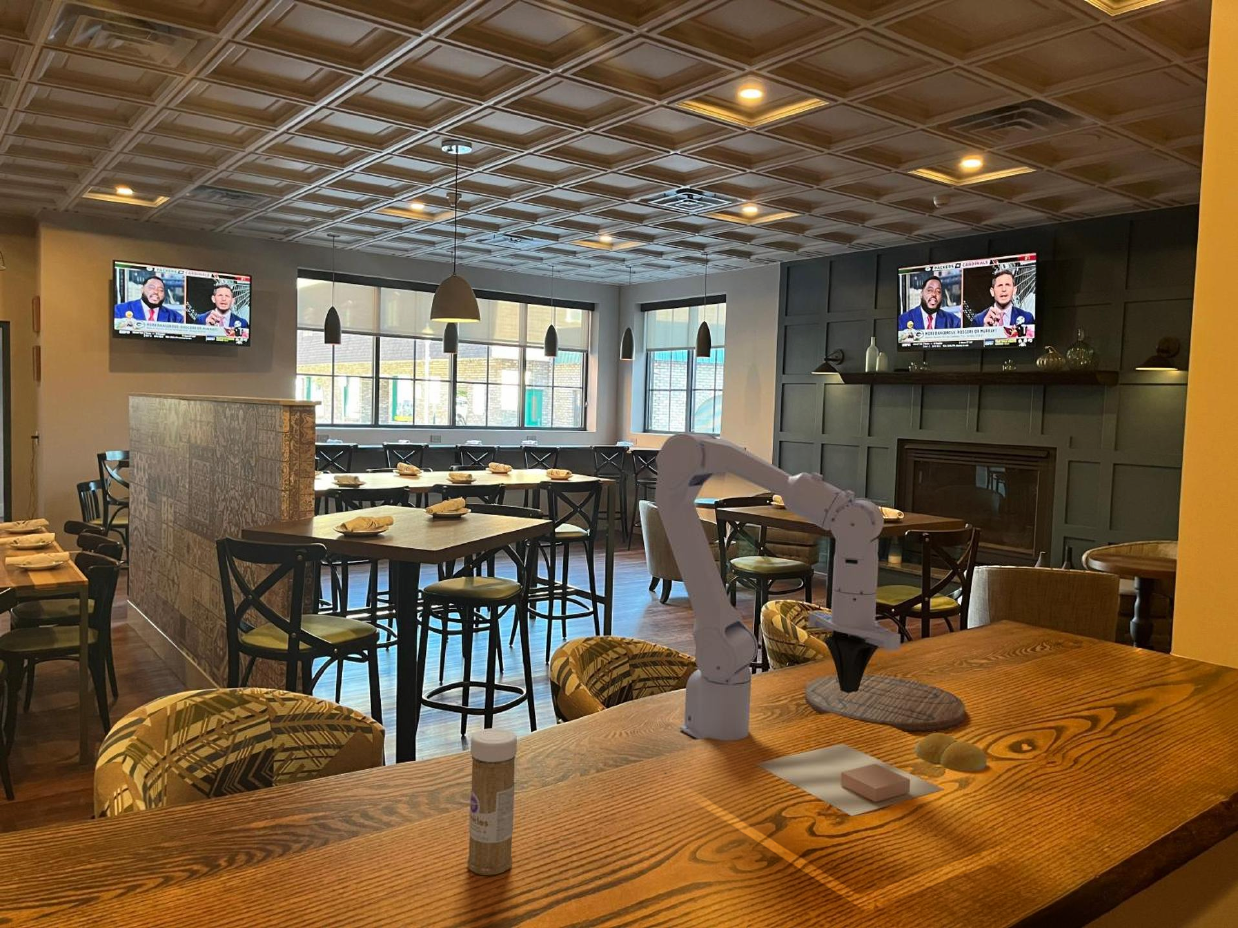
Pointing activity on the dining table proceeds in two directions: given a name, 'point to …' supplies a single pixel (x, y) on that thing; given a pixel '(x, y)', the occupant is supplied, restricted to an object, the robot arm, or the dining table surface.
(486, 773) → the sprinkles bottle
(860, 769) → the block
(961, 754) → the bread roll
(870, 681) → the trivet
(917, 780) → the board
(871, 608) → the robot arm
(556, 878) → the dining table surface
